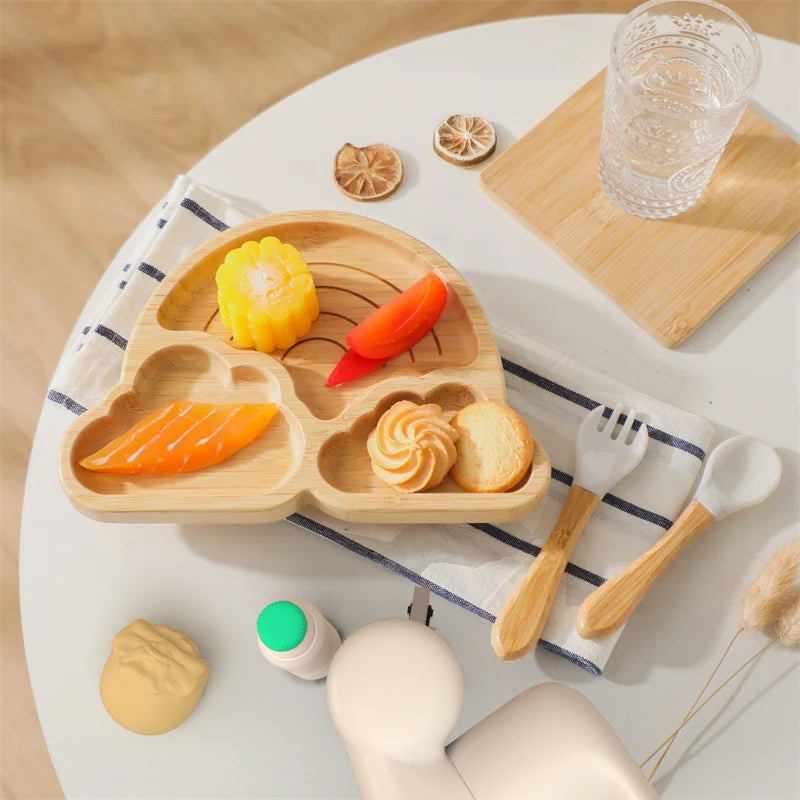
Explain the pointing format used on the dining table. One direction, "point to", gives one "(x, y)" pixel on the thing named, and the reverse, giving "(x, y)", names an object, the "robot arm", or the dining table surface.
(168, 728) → the sculpture
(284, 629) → the water bottle
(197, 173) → the dining table surface
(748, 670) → the dining table surface
